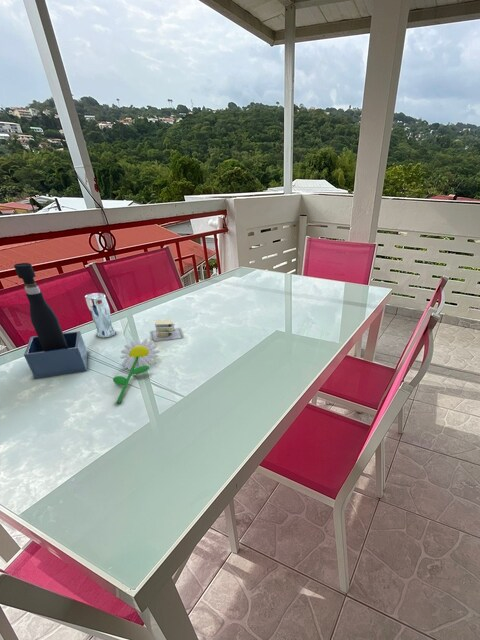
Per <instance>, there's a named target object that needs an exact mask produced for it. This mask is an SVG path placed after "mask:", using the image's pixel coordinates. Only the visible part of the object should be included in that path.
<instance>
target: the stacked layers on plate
mask: <svg viewBox="0 0 480 640" xmlns="http://www.w3.org/2000/svg"><path fill="white" fill-rule="evenodd" d="M153 322H154V326H155V331H152V332H151V333H152V338H153V342H159V341H168V340H175V339H182V336H181V335H182V334H181V331H180V329H179V328H176V329H175V327H176V326H175V324H174V323H175V321H174V320H173V319H171V318H161V319H155V320H153Z"/></svg>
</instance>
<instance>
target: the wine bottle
mask: <svg viewBox="0 0 480 640" xmlns="http://www.w3.org/2000/svg"><path fill="white" fill-rule="evenodd" d="M13 267H14V270H15V272H16V275H17V277H18V279H22V281H23V284H24V290H25V296H26V299H27V300H28V303H29V316H30V321H31V324H32V326H33V328H34V331H35V333H36V336H38V338H39V340H40V343H41V345H42V347H43V350H44V351H51V350H59V349H66V348H68V345H67V343H66V340H65V337H64V335H63V333H64V332H63V329H62V327H61V325H60V321H59V319H58V317H57V315H56V313H55V311H54V310H53V309H52V308H51V306H50V305H49V304H48V303H47V301H46V300H45V297H44V294H43V292H42V291H41V289H40V287H39V286H38V285H37V282H36V281H35V277H36V273H35V270H34V268H33V266H32V263H30V262H21V263H15V264H13Z"/></svg>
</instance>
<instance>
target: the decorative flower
mask: <svg viewBox="0 0 480 640" xmlns="http://www.w3.org/2000/svg"><path fill="white" fill-rule="evenodd" d="M129 344H130V345H129ZM129 344H124V348H125V349H122V350H120V353H121V354H123V355H121V356H120V359H124V360H123V361H122V363H121V366H124V370H126V369H127V370H128V371H129V373H128V375H127V377H126V376H122V375H117V376H114V377H113V378H112V382H113V383H114V384H115V385H117V386H118V385H119V386H123V387H122V388H121V391H120V393H119V395H118V397H117V400H116V404H120V403H121V401H122V399H123V397H124V394H125V391H126V389H127V387H128V385H129V382H130V381H131V377H132V375H139V374H142V373H144V372H146V371H147V370H149V369H150V367H151V366H150V364H153V365H156V363H157V362H156V361H155V360H154V359H157V358H158V357H159V355H158V354H159V353H160V350H158V349H156V348H157V347H158V345H157V344H154V339H153V340H152V339H151V340H150V341H149V340H148V338H145V339H143V340H142V342H141V340H140V339H139V338H136V340H135V341H134V340H131V341H130V343H129ZM149 363H150V364H149Z"/></svg>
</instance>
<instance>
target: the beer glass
mask: <svg viewBox="0 0 480 640" xmlns="http://www.w3.org/2000/svg"><path fill="white" fill-rule="evenodd" d="M84 299H85V304H86V308H87V311H88V313H89V316H90V317H91V319H92V321H93V323H94V325H95V328H96V333H97V337H99V338H111V337H114V336H115V335H116V331H115V329H114V326H113V325H112V324H113V323H112V317H111V309H110V305H109V302H108V300H107V297H106V294H105V293H102V292H93V293H88V294H85V295H84Z"/></svg>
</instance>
